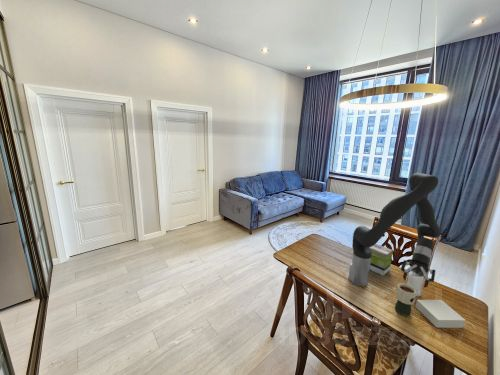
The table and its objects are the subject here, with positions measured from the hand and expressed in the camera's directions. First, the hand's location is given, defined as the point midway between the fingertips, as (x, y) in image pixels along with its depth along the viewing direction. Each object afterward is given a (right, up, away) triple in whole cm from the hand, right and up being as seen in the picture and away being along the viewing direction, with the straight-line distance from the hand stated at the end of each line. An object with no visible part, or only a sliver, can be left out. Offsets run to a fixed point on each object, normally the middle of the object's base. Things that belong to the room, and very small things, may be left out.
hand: (414, 283), depth 113 cm
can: (+1, -6, +2) cm, 7 cm away
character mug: (-14, -9, -11) cm, 20 cm away
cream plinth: (+1, -10, -13) cm, 16 cm away
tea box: (-7, -1, +25) cm, 26 cm away
